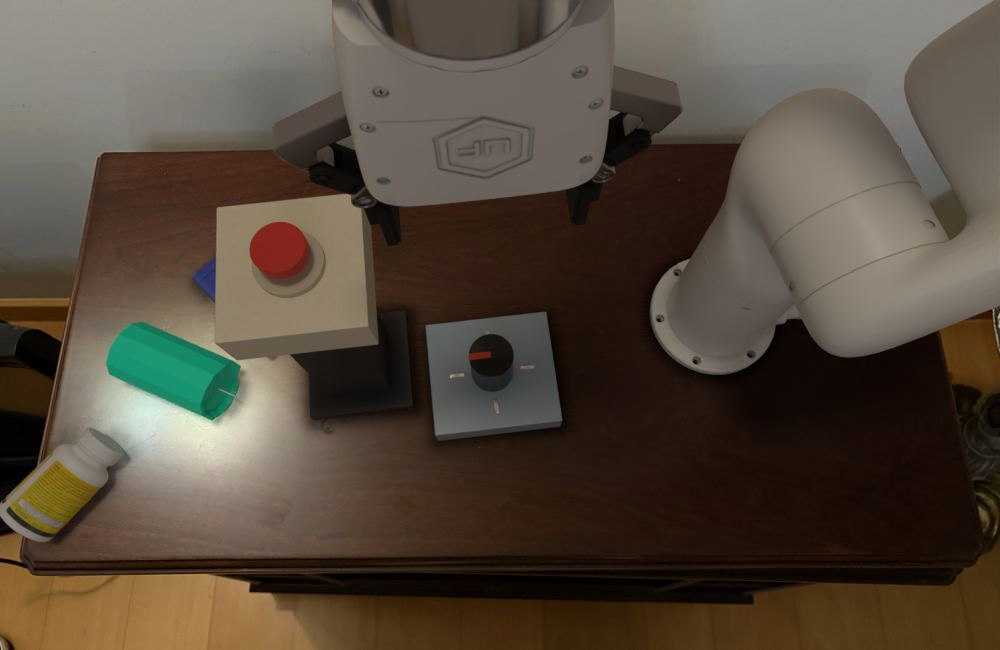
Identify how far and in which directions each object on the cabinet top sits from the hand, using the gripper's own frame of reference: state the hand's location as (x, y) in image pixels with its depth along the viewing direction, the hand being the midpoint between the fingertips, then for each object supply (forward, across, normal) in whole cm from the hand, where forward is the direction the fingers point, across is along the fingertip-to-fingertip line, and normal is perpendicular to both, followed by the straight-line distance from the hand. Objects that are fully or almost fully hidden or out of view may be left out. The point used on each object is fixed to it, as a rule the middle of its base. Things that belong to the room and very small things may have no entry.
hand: (483, 210), depth 37 cm
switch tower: (+35, -13, +3) cm, 38 cm away
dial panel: (+35, 0, 0) cm, 35 cm away
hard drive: (+35, -23, +12) cm, 43 cm away
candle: (+32, -35, +6) cm, 48 cm away
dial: (+32, 0, 0) cm, 32 cm away
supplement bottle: (+32, -44, -9) cm, 55 cm away
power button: (+10, -13, +3) cm, 16 cm away
